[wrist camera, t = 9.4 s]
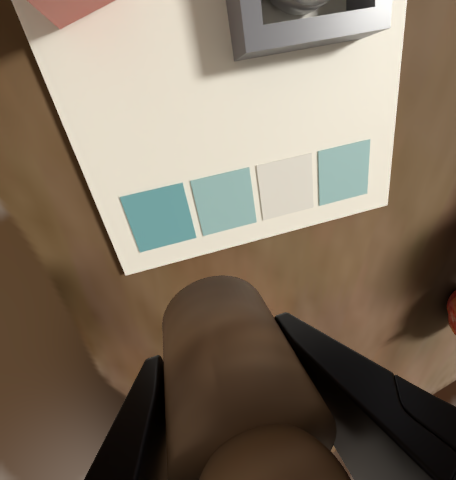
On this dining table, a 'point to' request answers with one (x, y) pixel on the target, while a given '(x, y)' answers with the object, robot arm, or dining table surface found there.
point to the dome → (298, 6)
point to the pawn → (239, 392)
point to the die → (67, 9)
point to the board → (217, 124)
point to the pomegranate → (452, 311)
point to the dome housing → (302, 27)
